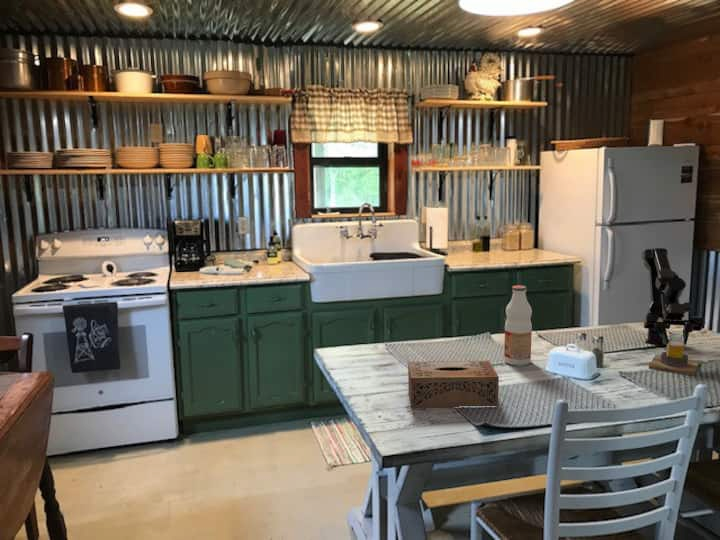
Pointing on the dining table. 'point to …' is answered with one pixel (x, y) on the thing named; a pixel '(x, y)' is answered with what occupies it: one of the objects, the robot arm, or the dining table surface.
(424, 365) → the tissue box cover
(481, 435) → the dining table surface
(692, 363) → the bottle holder
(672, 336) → the supplement bottle
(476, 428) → the dining table surface
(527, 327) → the fruit juice
